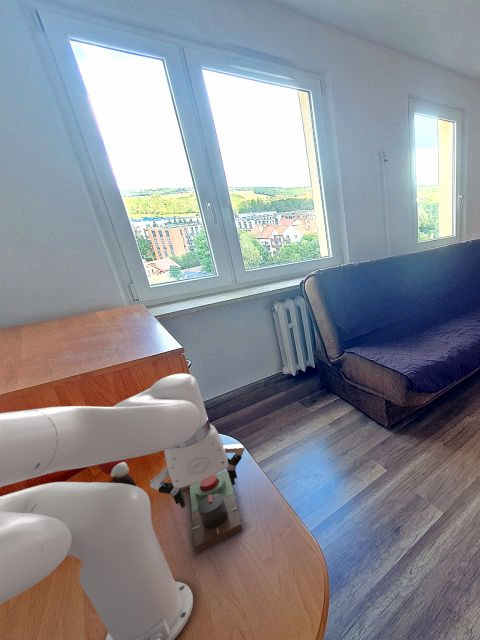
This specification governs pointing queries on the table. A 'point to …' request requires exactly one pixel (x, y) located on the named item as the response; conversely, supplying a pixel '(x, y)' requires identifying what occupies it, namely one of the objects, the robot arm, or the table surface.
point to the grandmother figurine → (122, 474)
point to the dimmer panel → (219, 533)
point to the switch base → (222, 488)
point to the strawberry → (110, 466)
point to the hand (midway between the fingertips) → (208, 491)
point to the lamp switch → (209, 483)
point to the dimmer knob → (213, 510)
